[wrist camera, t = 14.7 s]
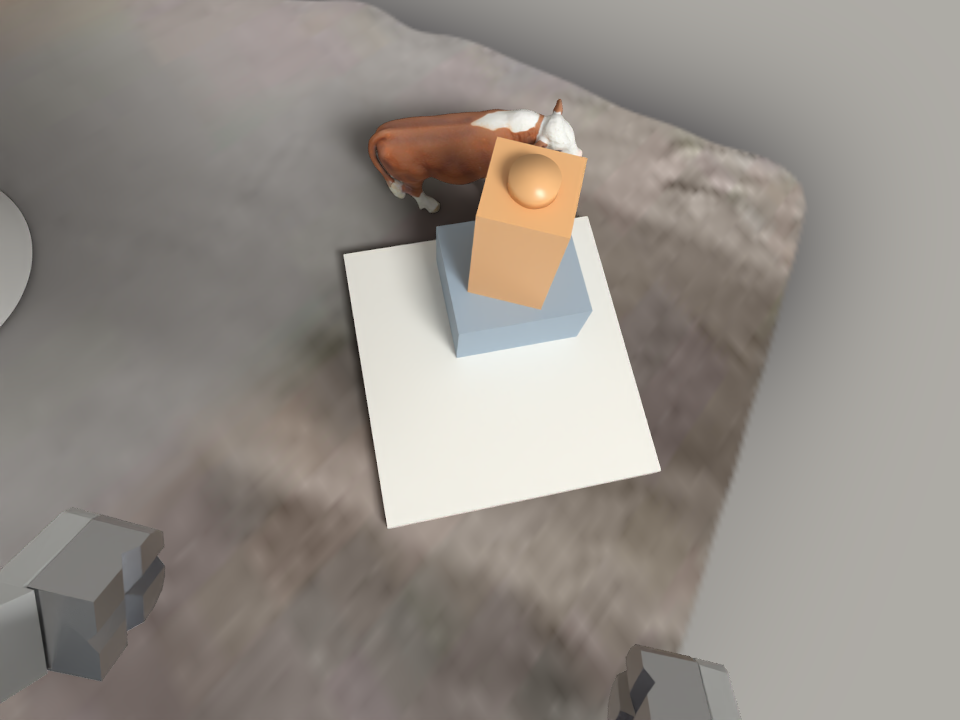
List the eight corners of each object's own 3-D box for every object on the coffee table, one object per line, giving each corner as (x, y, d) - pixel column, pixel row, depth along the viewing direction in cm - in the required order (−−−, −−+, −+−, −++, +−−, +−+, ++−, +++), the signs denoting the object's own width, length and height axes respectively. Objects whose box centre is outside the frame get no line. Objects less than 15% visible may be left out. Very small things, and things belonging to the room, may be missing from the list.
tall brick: (540, 309, 37) (573, 229, 28) (467, 292, 37) (477, 206, 28) (555, 244, 38) (591, 147, 29) (484, 227, 38) (498, 125, 29)
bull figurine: (565, 218, 45) (592, 147, 37) (376, 217, 44) (362, 144, 36) (561, 165, 46) (586, 86, 38) (377, 163, 45) (364, 81, 37)
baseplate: (388, 528, 38) (387, 528, 37) (345, 261, 43) (343, 254, 42) (655, 472, 40) (661, 470, 39) (584, 223, 45) (587, 216, 44)
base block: (456, 357, 40) (458, 334, 36) (436, 260, 42) (436, 226, 38) (576, 336, 41) (592, 310, 37) (551, 241, 43) (563, 206, 39)
